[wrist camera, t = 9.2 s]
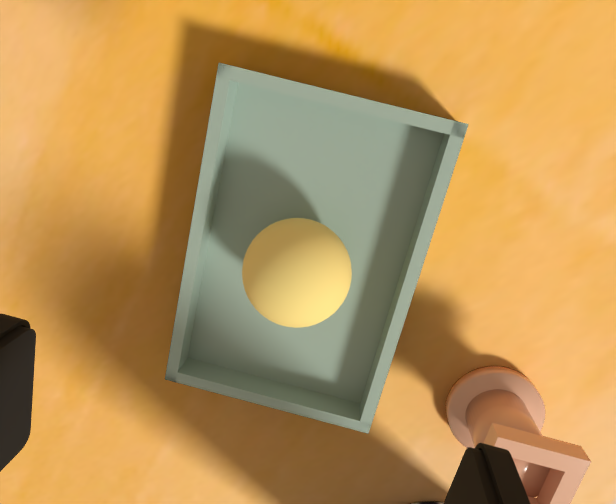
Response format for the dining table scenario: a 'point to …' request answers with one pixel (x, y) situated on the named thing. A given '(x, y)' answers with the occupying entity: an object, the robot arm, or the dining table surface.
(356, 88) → the dining table surface
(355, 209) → the tray
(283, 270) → the ball
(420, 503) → the white-spotted black cylinder
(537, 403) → the egg cup
